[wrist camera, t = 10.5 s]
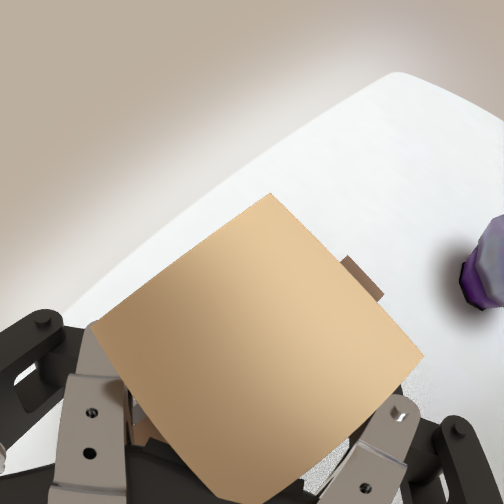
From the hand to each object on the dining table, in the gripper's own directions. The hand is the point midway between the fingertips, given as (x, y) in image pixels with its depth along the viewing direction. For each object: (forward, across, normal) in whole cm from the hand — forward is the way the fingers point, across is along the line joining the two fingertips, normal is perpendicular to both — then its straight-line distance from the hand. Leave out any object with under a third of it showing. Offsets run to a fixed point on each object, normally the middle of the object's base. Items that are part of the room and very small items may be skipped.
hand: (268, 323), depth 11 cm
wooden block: (+2, 0, -5) cm, 5 cm away
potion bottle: (+17, +20, -2) cm, 26 cm away
